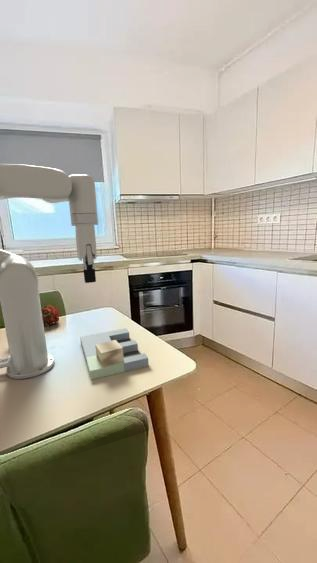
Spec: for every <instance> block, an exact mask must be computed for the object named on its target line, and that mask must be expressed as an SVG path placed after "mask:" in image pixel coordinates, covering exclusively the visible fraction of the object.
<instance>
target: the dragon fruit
mask: <svg viewBox="0 0 317 563" xmlns="http://www.w3.org/2000/svg"><path fill="white" fill-rule="evenodd" d="M41 312H42V318H43V325H46V326H52V325H54V323H55V324H56V323H58V322H59V321H60V310H59V309H58V308H57V307H56V306H53V305H52V304H47V305H46V306H44V307H41Z"/></svg>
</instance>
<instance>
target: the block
mask: <svg viewBox="0 0 317 563" xmlns="http://www.w3.org/2000/svg"><path fill="white" fill-rule="evenodd" d="M95 347H96V357H97V359H98V361H99V362H100V364H101V365H102V367H105V366H108V365H112V364H115V363H119V362H123V361H124V357H123V347H122V346H121V345H120V344H119V343H118V342H117V341H116V340H113V341H109V342H105V343H100V344H96V345H95Z"/></svg>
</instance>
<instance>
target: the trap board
mask: <svg viewBox="0 0 317 563" xmlns="http://www.w3.org/2000/svg"><path fill="white" fill-rule="evenodd" d="M79 338H80V346H81V349H82V353H83V356H84V359H85V363H86V366H87V370H88V374H89V377H90V380H95V379H99V378H104V377H108V376H112V375H116V374H121V373H125V372H129V371H133V370H137V369H142V368H145V367H149V357H148V356H147V354H146V353H145V352H144V353H141V352H140V351H139V345H138V344H139V343H138V342H137V341H136V340H135V339H133V340H132V339H131V338H130V331H129V330H128V329H127V327H125V328H120V329H116V330H115V329H114V330H110V331H104V332H100V333H99V332H98V333H93V334H87V335H83V336H79ZM113 340H116V341H117V342H118V343H119V344H120V345H121V346H122V347H123V357H124V361H123V362H119V363H115V364H112V365H108V366H105V367H102V365H101V364H100V362H99V361H98V359H97V357H96V347H95V345H96V344H100V343H105V342H109V341H113Z"/></svg>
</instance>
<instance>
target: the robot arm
mask: <svg viewBox="0 0 317 563" xmlns="http://www.w3.org/2000/svg"><path fill="white" fill-rule="evenodd" d="M96 196H97V195H96V185H95V179H94V178H93V176H91V175H89V174H79V173H78V174H77V173H76V174H75V173H74V174H70V175H68V174H67V173H66V172H64V171H63V170H61V169H58V168H52V167H46V166H39V165H37V166H36V165H29V164H15V163H14V164H13V163H0V201H1V200H6V199H7V200H8V199H14V198H15V199H16V198H19V199H20V198H21V199H23V198H27V199H41V200H42V201H45V202H46V203H50V204H51V203H52V204H58V203H64V202H68V205H69V215H70V225H71V227H74V228H75V242H76V243H75V244H76V256H77V259H78V260H79V261H82V262H83V263H82V264H83V269H82V270H83V278H84V283H85V284H90V283H96V281H97V276H96V269H95V260H96V259H97V256H98V254H97V253H98V252H97V240H96V231H95V230H96V228H95V226H98V225H99V219H98V206H97V197H96ZM39 289H40V287H39V278H38V273H37V271H36V268H35V267H34V265H33V264H32V263H31V262H30V261H29V260H28V259H27V258H25V257H23V256H21V255H17V254H15V253H12V252H9V251H6V250H4V249H1V248H0V306H1V312H2V318H3V324H4V327H5V328H4V329H5V332H6V333H5V335H6V340H7V346H8V351H9V355H8V356H6V357H4V358H0V369H3V368H6V369H5V370H6V375H7V377H9V378H11V379H16V380H17V379H19V380H21V379H22V380H24V379H29V378H34V377H37V376H39V375H42V374H44V373H45V372H47V371H49V370H51V368H53V366H54V364H55V358H54V356H53V355H52V354H49V352H48V348H47V341H46V334H45V326H44V325H45V324H43V318H42V312H41V309H42V306H41V298H40V290H39Z"/></svg>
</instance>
